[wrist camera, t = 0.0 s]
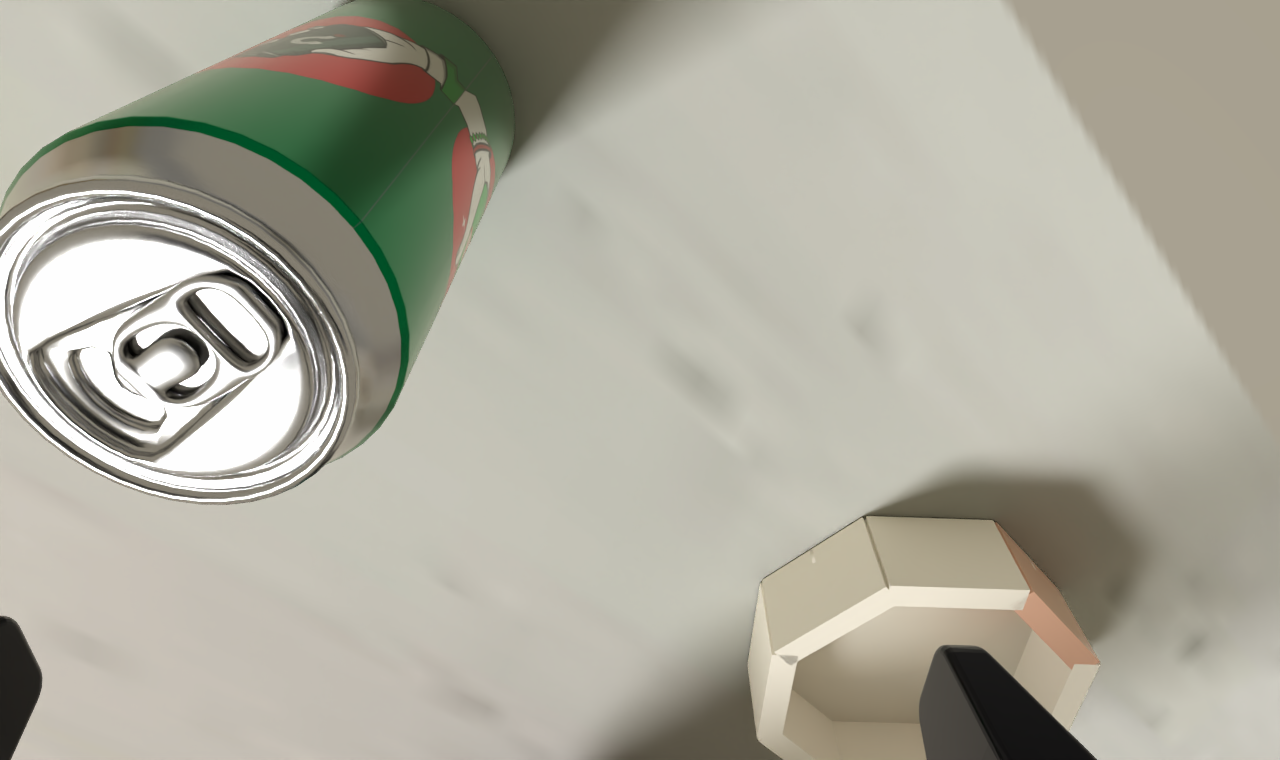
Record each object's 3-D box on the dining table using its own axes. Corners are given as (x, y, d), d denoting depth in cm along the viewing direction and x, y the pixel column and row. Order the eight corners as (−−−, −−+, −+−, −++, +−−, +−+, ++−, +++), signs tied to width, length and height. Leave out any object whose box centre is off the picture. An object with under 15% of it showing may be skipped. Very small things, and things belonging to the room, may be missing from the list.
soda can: (256, 69, 20) (-174, 294, 9) (428, -57, 18) (148, 42, 8) (396, 244, 22) (177, 581, 12) (559, 144, 20) (473, 425, 10)
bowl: (1003, 726, 32) (1035, 801, 29) (738, 718, 32) (747, 793, 29) (1087, 523, 27) (1134, 593, 24) (770, 512, 26) (784, 582, 24)
